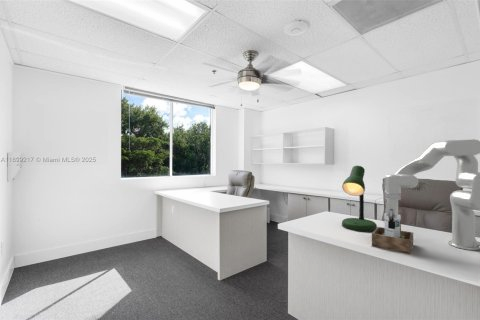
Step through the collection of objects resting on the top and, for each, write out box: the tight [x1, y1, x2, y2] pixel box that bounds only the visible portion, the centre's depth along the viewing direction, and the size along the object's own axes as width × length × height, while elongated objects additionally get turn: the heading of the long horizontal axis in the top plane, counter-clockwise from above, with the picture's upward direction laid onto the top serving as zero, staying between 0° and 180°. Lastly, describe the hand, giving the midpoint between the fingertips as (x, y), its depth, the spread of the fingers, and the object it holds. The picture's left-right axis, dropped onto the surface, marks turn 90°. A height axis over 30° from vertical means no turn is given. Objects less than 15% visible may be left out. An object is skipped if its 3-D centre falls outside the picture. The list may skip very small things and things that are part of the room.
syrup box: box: [383, 212, 402, 238], centre depth 133 cm, size 6×6×14 cm
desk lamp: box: [341, 165, 378, 233], centre depth 166 cm, size 31×23×45 cm
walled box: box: [371, 226, 414, 255], centre depth 133 cm, size 18×18×7 cm
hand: (392, 226), depth 133 cm, fingers closed on syrup box, 7 cm apart
